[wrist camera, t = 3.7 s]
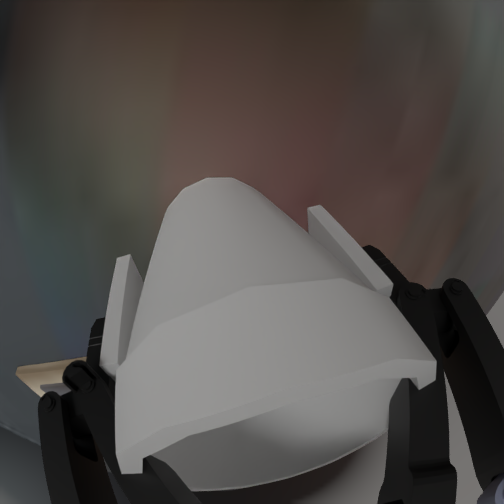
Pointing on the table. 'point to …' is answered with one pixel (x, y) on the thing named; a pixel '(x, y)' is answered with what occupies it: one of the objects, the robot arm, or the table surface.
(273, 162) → the table surface
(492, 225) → the table surface
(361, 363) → the foam cup
